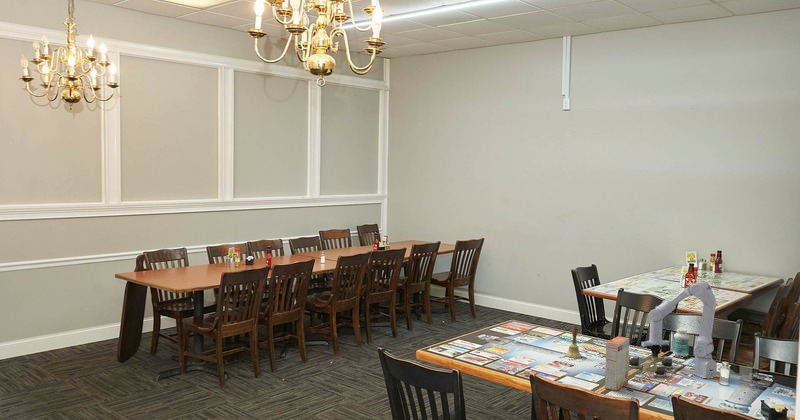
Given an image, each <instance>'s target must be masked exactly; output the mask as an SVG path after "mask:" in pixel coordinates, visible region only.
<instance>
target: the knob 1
mask: <svg viewBox="0 0 800 420" xmlns="http://www.w3.org/2000/svg"><path fill="white" fill-rule="evenodd" d="M629 364H630V365H635V366H637V365H640V357H639V356H637V355H629Z"/></svg>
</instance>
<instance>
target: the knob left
mask: <svg viewBox="0 0 800 420" xmlns="http://www.w3.org/2000/svg"><path fill="white" fill-rule="evenodd" d="M655 364H656V365H655V366H648V367H643V369H642V372H644V373H652V372H654V373H656V374H666V372H665V366H664V365H662V363H655Z"/></svg>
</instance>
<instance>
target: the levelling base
mask: <svg viewBox="0 0 800 420" xmlns="http://www.w3.org/2000/svg"><path fill="white" fill-rule="evenodd" d="M656 364H657V363H653V362H646V363H645V362H644V363H642V364H639V365H637V366H635V365H630V364H629V369H630V368H631V369H640V368H642V369H641V370H643V367H648V366H655V365H656ZM664 366H665V365H664ZM666 368H668V369H666ZM672 368H673V369H674V365H673V364H672V366H665V371H667V370H673V369H672ZM652 375H653V376H654V377H656V376H657V377H658V378H666V377H667V374H666V373H665V374H656V373H654V372H653V373H652ZM665 376H666V377H665ZM657 377H656V378H657Z"/></svg>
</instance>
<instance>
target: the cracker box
mask: <svg viewBox="0 0 800 420" xmlns="http://www.w3.org/2000/svg"><path fill="white" fill-rule="evenodd" d="M629 357H630V338H629V337H624V336H616V337H614V338H612V339H610V340H609V341H607V342H606V343H605V366H604V367H605V368H604V369H605V373H604V389H606V390H610V391H616V392H618V391H619V390H620V389H622V388H623V387H625V386H626V385H627V384H629V370H630V367H629Z"/></svg>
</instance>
